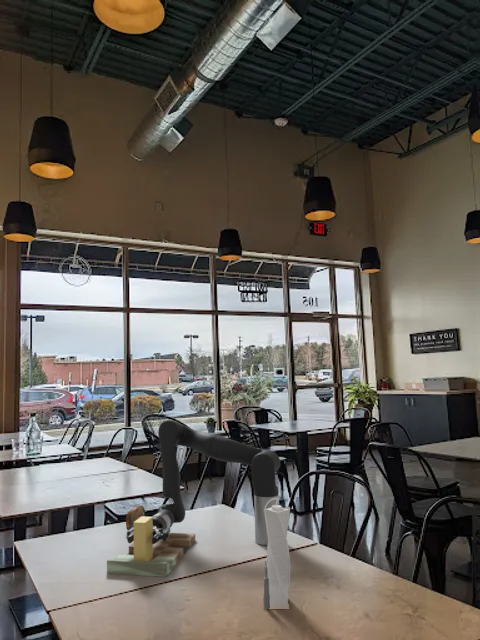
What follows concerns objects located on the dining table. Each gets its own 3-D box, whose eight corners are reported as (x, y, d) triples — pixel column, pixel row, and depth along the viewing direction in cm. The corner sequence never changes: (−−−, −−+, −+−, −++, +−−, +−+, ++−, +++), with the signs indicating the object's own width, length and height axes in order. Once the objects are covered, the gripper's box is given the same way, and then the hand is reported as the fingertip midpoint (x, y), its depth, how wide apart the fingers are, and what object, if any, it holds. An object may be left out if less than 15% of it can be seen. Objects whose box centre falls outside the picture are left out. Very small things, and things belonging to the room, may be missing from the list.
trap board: (145, 538, 203) (145, 527, 203) (195, 540, 199) (195, 529, 200) (106, 573, 168) (106, 560, 169) (166, 576, 165) (166, 563, 165)
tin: (131, 534, 208) (131, 513, 209) (124, 534, 209) (124, 512, 210) (146, 523, 223) (145, 503, 224) (139, 523, 223) (139, 503, 224)
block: (141, 555, 177) (141, 516, 178) (152, 556, 176) (152, 516, 177) (133, 563, 170) (133, 522, 171) (145, 564, 169) (145, 522, 170)
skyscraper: (263, 597, 149) (261, 496, 152) (291, 597, 149) (288, 496, 152) (263, 610, 141) (261, 504, 144) (293, 610, 141) (290, 504, 143)
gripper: (176, 537, 186) (161, 553, 170) (138, 536, 188) (120, 551, 172) (176, 515, 187) (161, 529, 171) (138, 514, 189) (120, 528, 173)
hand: (141, 540), depth 172 cm, fingers open, 8 cm apart
